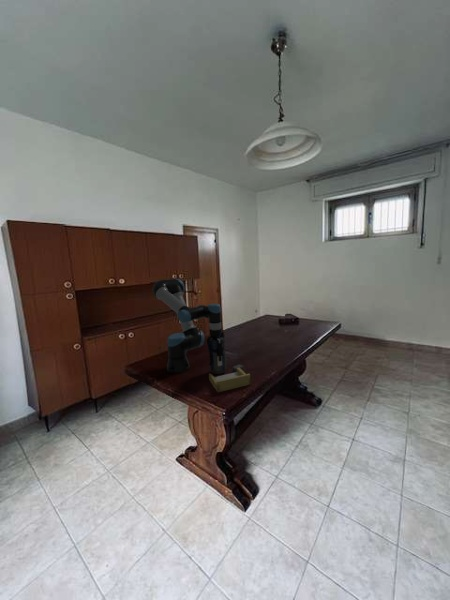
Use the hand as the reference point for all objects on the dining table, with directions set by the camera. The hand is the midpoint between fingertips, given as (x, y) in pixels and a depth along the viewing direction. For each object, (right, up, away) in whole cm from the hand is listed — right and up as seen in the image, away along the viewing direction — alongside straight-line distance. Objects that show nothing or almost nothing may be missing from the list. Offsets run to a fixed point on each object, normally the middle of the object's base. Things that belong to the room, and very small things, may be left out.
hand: (217, 362), depth 158 cm
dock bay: (+7, -9, -11) cm, 16 cm away
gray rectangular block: (+14, -6, +3) cm, 15 cm away
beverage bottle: (0, -6, +1) cm, 6 cm away
